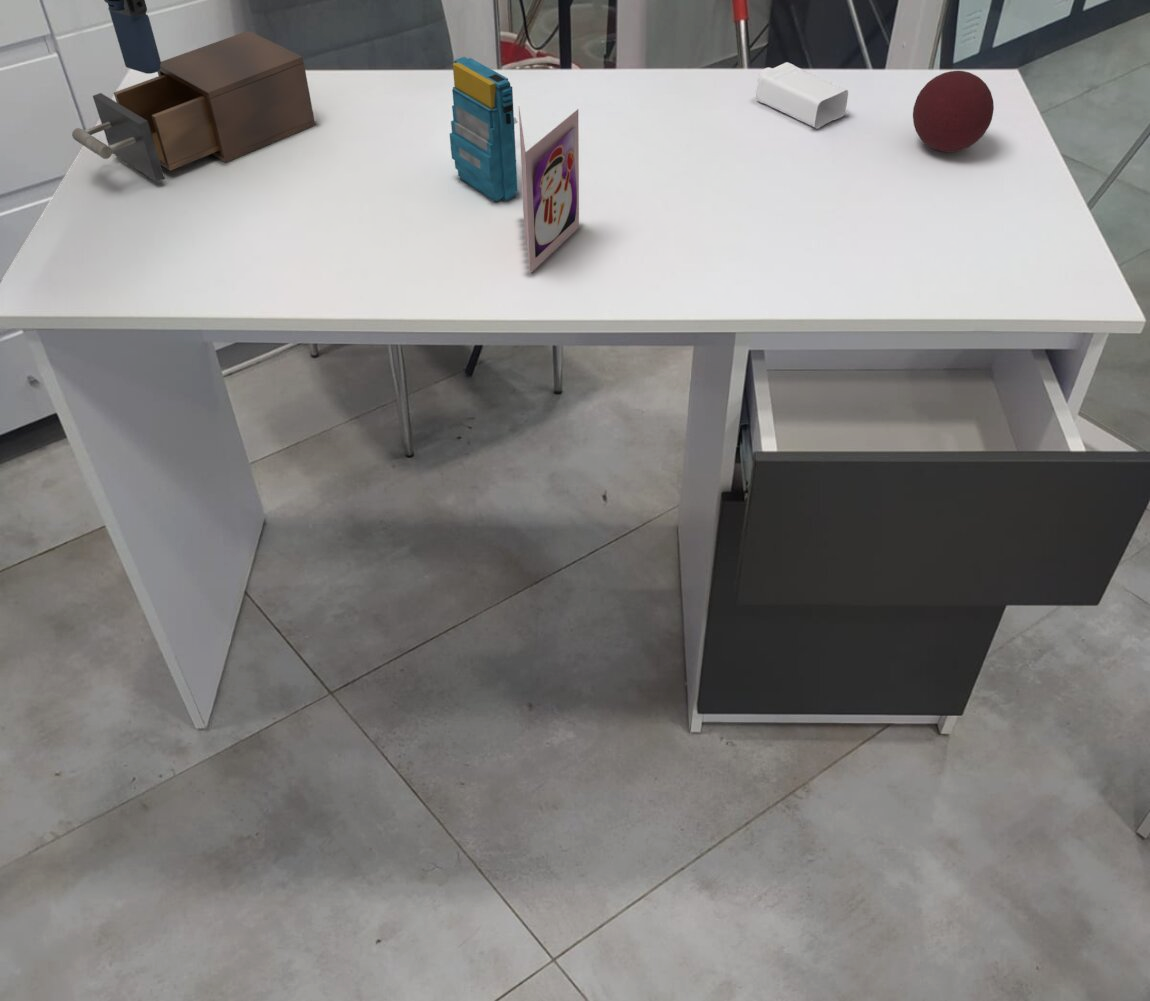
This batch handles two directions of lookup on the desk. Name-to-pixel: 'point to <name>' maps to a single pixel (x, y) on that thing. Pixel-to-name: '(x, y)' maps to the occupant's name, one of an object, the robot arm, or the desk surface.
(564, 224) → the greeting card
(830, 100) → the white rectangular box
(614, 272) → the desk surface
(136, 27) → the vaping device
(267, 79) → the cabinet
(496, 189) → the teal upright block
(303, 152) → the desk surface
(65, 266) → the desk surface
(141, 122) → the drawer
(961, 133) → the decorative ball
